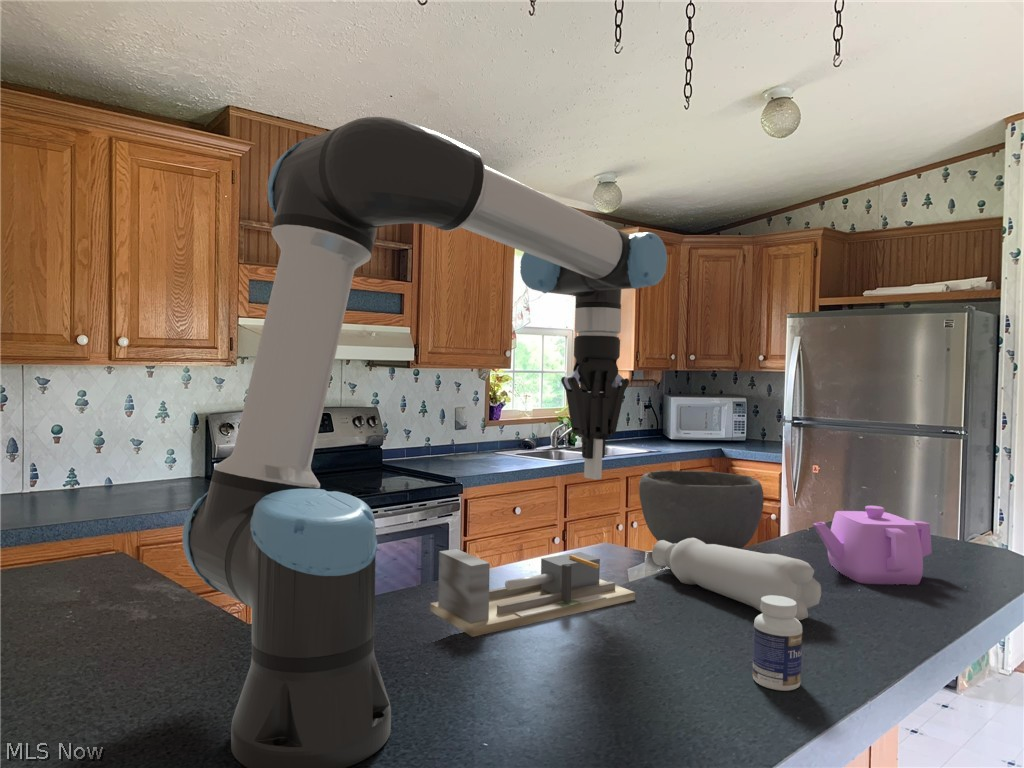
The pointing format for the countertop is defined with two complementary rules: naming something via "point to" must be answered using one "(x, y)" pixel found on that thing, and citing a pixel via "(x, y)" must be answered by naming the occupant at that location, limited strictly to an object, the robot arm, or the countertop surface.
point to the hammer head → (566, 583)
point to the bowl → (701, 506)
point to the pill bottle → (777, 644)
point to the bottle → (740, 572)
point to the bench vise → (507, 598)
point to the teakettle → (876, 546)
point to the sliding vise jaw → (551, 573)
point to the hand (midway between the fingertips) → (592, 478)
